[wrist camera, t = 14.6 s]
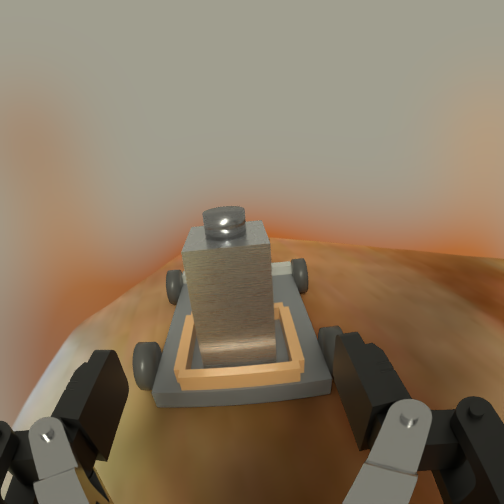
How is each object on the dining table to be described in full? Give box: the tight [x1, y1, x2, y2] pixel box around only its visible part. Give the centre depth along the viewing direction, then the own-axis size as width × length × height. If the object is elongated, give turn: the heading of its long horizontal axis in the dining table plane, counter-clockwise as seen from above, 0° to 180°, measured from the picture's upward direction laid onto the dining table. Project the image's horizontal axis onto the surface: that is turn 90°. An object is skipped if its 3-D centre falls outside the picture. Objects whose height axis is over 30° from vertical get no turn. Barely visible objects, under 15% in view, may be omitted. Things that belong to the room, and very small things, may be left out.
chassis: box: [133, 258, 343, 407], centre depth 27 cm, size 18×14×4 cm
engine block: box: [181, 206, 277, 369], centre depth 21 cm, size 5×5×10 cm
